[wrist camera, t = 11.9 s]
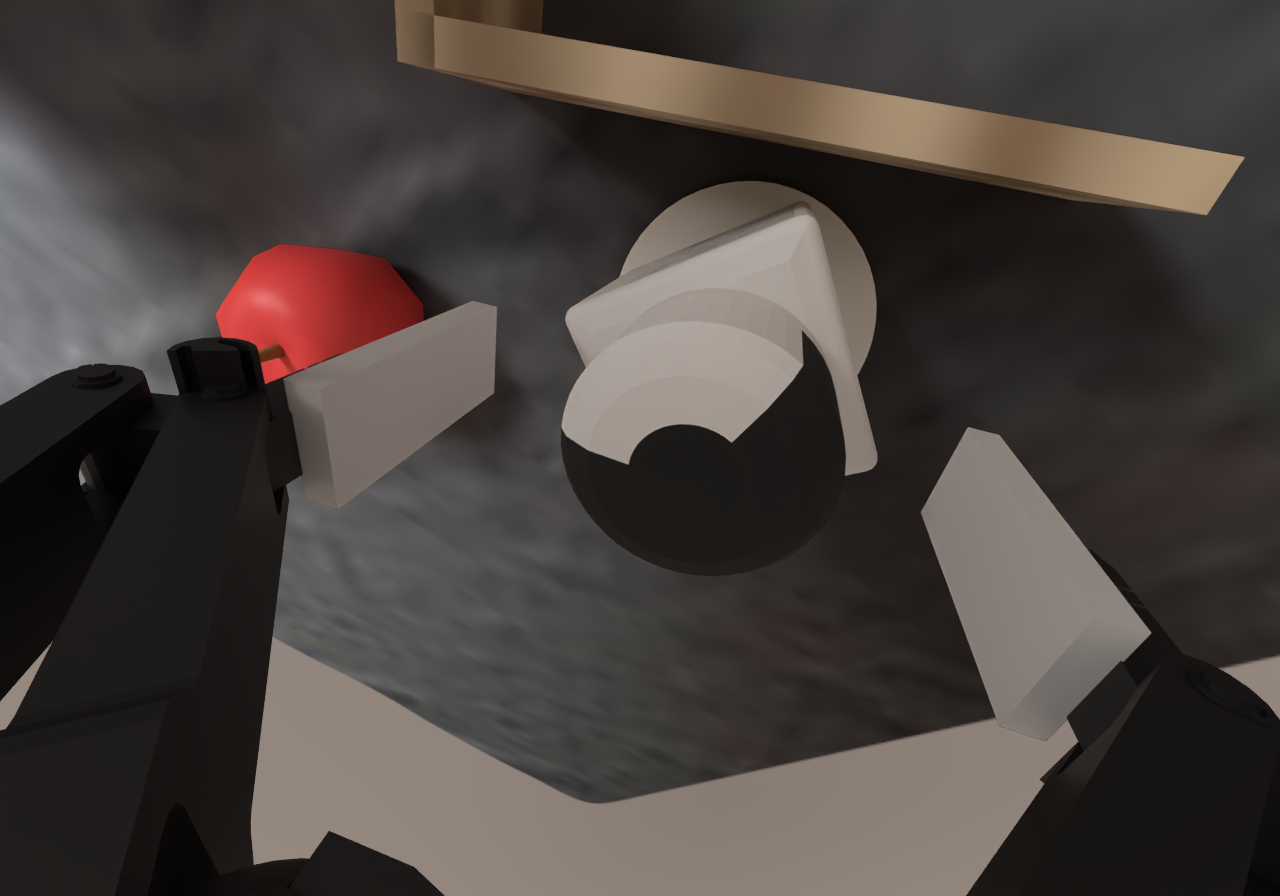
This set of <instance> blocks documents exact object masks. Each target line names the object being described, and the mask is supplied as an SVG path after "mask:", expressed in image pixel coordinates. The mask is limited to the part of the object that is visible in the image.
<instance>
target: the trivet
mask: <svg viewBox="0 0 1280 896" xmlns="http://www.w3.org/2000/svg"><path fill="white" fill-rule="evenodd" d="M799 201H805V202H807V203H809V205H810V207H811V208H812V211H813V213H814V215H815V217H816V220H817V222H818V224H819V227H820V231H821V235H822V239H823V243H824V247H825V251H826V255H827V259H828V263H829V267H830V271H831V274H832V278H833V282H834V286H835V290H836V294H837V298H838V302H839V306H840V310H841V314H842V318H843V322H844V325H845V329H846V333H847V337H848V341H849V345H850V349H851V353H852V357H853V361H854V365H855V369H856V373H857V375H858V374H859V372H860V370H861V368H862V366H863V364H864V362H865V360H866V358H867V355H868V352H869V349H870V346H871V343H872V340H873V335H874V329H875V324H876V307H877V303H876V292H875V285H874V280H873V276H872V272H871V268H870V266H869V263H868V261H867V258H866V256H865V254H864V251H863V249H862V248H861V246H860V244H859V243H858V241H857V239H856V238H855V236H854V234H853V233H852V232H851V231H850V230H849V228H848V227H847V226H846V225H845V224H844V222H843V221H842V220H841V219H840V218H839V217H838V216H837V215H836V214H834V213H833V212H832V211H831V210H830V209H829V208H828V207H827V206H825V205H824V204H822V203H821V202H819V201H817V200H816V199H814V198H813V197H811V196H809V195H807V194H805V193H803V192H800V191H798V190H796V189H794V188H790V187H787V186H783V185H780V184H776V183H769V182H761V181H737V182H730V183H724V184H718V185H715V186H712V187H709V188H705V189H702V190H699V191H697V192H695V193H693V194H691V195H689V196H687V197H684V198H682V199H681V200H679V201H678V202H676V203H675V204H673V205H672V206H670V207H669V208H667V209H666V210H665V211H664V212H662V213H661V214H660V215H659V216H658V217H657V218H656V219H654V220H653V221H652V223H651V224H650V225H649V226H648V227H647V228H646V229H645V230H644V232H643V233H642V234H641V235H640V237H639V238H638V240H637V241H636V243H635V244H634V246H633V247H632V249H631V251H630V253H629V255H628V257H627V259H626V261H625V263H624V265H623V268H622V271H621V274H620V277H621V276H623V275H624V274H626V273H627V272H629V271H631V270H632V269H635V268H637V267H640V266H642V265H645V264H647V263H649V262H652V261H654V260H657V259H659V258H662V257H664V256H666V255H669V254H671V253H674V252H676V251H679V250H681V249H684V248H686V247H688V246H691V245H693V244H696V243H698V242H701V241H703V240H705V239H708V238H710V237H713V236H715V235H718V234H720V233H722V232H725V231H727V230H730V229H732V228H735V227H737V226H740V225H742V224H744V223H747V222H749V221H752V220H754V219H757V218H759V217H761V216H764V215H766V214H769V213H771V212H774V211H776V210H779V209H781V208H783V207H786V206H788V205H791V204H793V203H796V202H799Z"/></svg>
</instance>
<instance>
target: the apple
mask: <svg viewBox="0 0 1280 896" xmlns="http://www.w3.org/2000/svg"><path fill="white" fill-rule="evenodd" d="M216 317H217V321H218V324H219V328H220V331H221V335H222V338H236V339H241V340H245V341H249V342H251V343H253V344H255V345H257V348H258V352H259V357H260V361H261V366H262V371H263V376H264V381H265V384H266V383H269V382H271V381H274V380H276V379H279V378H281V377H283V376H286V375H288V374H291V373H293V372H296V371H298V370H301V369H303V368H305V369H307V367H308V366H311V365H313V364H316V363H318V362H319V363H322V361H323V360H325V359H328V358H330V357H333V356H335V355H338V354H341V353H346V352H349V351H352V350H354V349H356V348H359V347H361V346H364V345H366V344H369V343H371V342H374V341H376V340H378V339H381V338H383V337H386V336H388V335H391V334H393V333H396V332H398V331H400V330H403V329H405V328H408V327H410V326H413V325H415V324H418V323H420V322H422V321H424V313H423V303H422V302H421V301H420V300H419V299H418V297H417V296H416V295H415V294H414V293H413V291H412V290H411V289H410V288H409V287H408V285H407V284H406V283H405V282H404V281H403V279H402V278H401V277H400V276H399V275H398V273H397V272H396V271H395V270H394V269H393V267H392V266H391V265H390V264H389V263H388V261H387V260H386V259H385V258H382V257H377V256H372V255H366V254H361V253H356V252H351V251H345V250H340V249H332V248H320V247H309V246H297V245H286V244H280V245H278V246H276V247H273V248H271V249H269V250H267V251H264V252H262V253H260V254H258V255H256V256H254V257H253V258H252V260H251V261H250V263H249V264H248V266H247V267H246V268H245V270H244V271H243V273H242V274H241V276H240V277H239V279H238V280H237V282H236V283H235V285H234V286H233V287H232V289H231V290H230V292H229V293H228V295H227V296H226V298H225V300H224V301H223V303H222V305H221V306H220V308H219V310H218V311H217V313H216Z"/></svg>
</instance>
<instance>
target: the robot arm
mask: <svg viewBox="0 0 1280 896" xmlns="http://www.w3.org/2000/svg"><path fill="white" fill-rule="evenodd" d="M496 322H497V307H495V306H491V305H487V304H483V303H479V302H476V301H471V302H469V303H466V304H464V305H462V306H459V307H457V308H454V309H452V310H449V311H447V312H444V313H442V314H440V315H437V316H435V317H432V318H430V319H427V320H425V321H422V322H420V323H418V324H415V325H413V326H410V327H408V328H405V329H403V330H400V331H398V332H396V333H393V334H391V335H388V336H386V337H383V338H381V339H378V340H376V341H374V342H371V343H369V344H366V345H364V346H361V347H359V348H356V349H354V350H352V351H349V352H346V353H341V354H338V355H335V356H333V357H330V358H328V359H325V360H323V361H322V363H319V362H318V363H316V364H313V365H311V366H308V367H307V369H305V368H303V369H301V370H298V371H296V372H293V373H291V374H288V375H286V376H283V377H281V378H279V379H276V380H274V381H271V382H269V383H266V384H265V381H264V376H263V371H262V366H261V361H260V357H259V352H258V348H257V345H255V344H253V343H251V342H249V341H245V340H241V339H236V338H222V337H217V338H201V339H195V340H190V341H185V342H182V343H179V344H176V345H174V346H172V347H171V348H170V349H168V350H167V354H168V357H169V360H170V364H171V367H172V370H173V374H174V377H175V380H176V384H177V387H178V390H179V395H178V396H175V395H165V394H156V393H151V392H150V389H149V386H148V383H147V380H146V377H145V375H144V373H143V371H142V370H139V369H137V368H134V367H130V366H123V365H107V364H94V365H91V364H90V365H83V366H80V367H78V368H76V369H72V370H67V371H64V372H61V373H59V374H56V375H54V376H52V377H50V378H48V379H46V380H44V381H43V382H41V383H39V384H37V385H36V386H34V387H32V388H30V389H29V390H27V391H25V392H23V393H22V394H20V395H18V396H16V397H15V398H13V399H11V400H9V401H8V402H6V403H4V404H2V405H1V406H0V701H1V700H2V699H3V697H4V696H5V695H6V694H7V693H8V692H9V691H10V689H11V688H12V687H13V686H14V685H15V684H16V683H17V681H18V680H19V679H20V678H21V677H22V676H23V675H24V673H25V672H26V671H27V670H28V669H29V668H30V666H31V665H32V664H33V663H34V662H35V661H36V659H38V657H39V656H40V655H41V654H42V653H43V652H44V650H45V649H46V648H47V647H48V646H49V645H50V644H51V642H52V641H53V642H52V644H51V646H50V648H49V650H48V652H47V654H46V656H45V658H44V660H43V661H42V663H41V665H40V667H39V669H38V671H37V673H36V675H35V677H34V679H33V681H32V683H31V685H30V687H29V689H28V691H27V693H26V695H25V697H24V699H23V701H22V703H21V705H20V707H19V709H18V711H17V713H16V715H15V716H14V718H13V719H12V721H11V722H10V724H9V725H8V727H7V728H6V729H4V730H0V896H444V895H443V894H442V893H441V892H440V891H439V890H438V889H437V888H436V887H435V886H434V885H433V884H432V883H431V882H430V881H428V880H427V879H426V878H425V877H424V876H423V875H422V874H421V873H420V872H418V870H417V869H416V868H415V867H413V866H410V865H408V864H406V863H403V862H401V861H399V860H396V859H394V858H391V857H389V856H387V855H385V854H382V853H380V852H377V851H375V850H373V849H370V848H368V847H366V846H363V845H361V844H359V843H356V842H354V841H352V840H349V839H347V838H345V837H342V836H340V835H337V834H335V833H333V832H330V831H329V832H328V833H327V835H326V836H325V837H324V839H323V840H322V842H321V843H320V844H319V846H318V847H317V849H316V850H315V852H314V853H313V854H312V856H311V858H310V859H305V858H299V859H287V860H276V861H271V862H266V863H261V864H256V865H253V851H252V840H251V809H252V800H253V792H254V784H255V775H256V767H257V759H258V751H259V743H260V734H261V726H262V718H263V710H264V701H265V693H266V685H267V676H268V668H269V660H270V652H271V644H272V635H273V627H274V619H275V611H276V602H277V594H278V586H279V578H280V569H281V561H282V553H283V545H284V536H285V528H286V520H287V511H288V503H289V497H288V492H287V487H286V484H288V483H290V482H291V481H293V480H294V479H296V478H298V477H299V476H302V481H303V487H304V492H305V497H306V499H308V500H311V501H314V502H317V503H320V504H323V505H326V506H329V507H332V508H335V509H339V508H340V507H342V506H343V505H344V504H346V503H347V502H348V501H350V500H351V499H352V498H354V497H355V496H356V495H358V494H359V493H360V492H362V491H363V490H364V489H366V488H367V487H368V486H370V485H371V484H373V483H374V482H375V481H377V480H378V479H379V478H381V477H382V476H383V475H385V474H386V473H387V472H389V471H390V470H391V469H393V468H394V467H395V466H397V465H398V464H399V463H401V462H402V461H403V460H405V459H406V458H407V457H409V456H410V455H411V454H413V453H414V452H416V451H417V450H418V449H420V448H421V447H422V446H424V445H425V444H426V443H428V442H429V441H430V440H432V439H433V438H434V437H436V436H437V435H438V434H440V433H441V432H442V431H444V430H445V429H446V428H448V427H449V426H450V425H452V424H453V423H454V422H456V421H457V420H458V419H460V418H461V417H463V416H464V415H465V414H467V413H468V412H469V411H471V410H472V409H473V408H475V407H476V406H477V405H479V404H480V403H481V402H483V401H484V400H485V399H487V398H488V397H489V396H491V395H492V394H493V393H494V382H495V352H496ZM80 469H81V472H82V474H83V476H84V478H85V481H86V482H85V483H84V484H83V485H82V486H81V485H80V480H79V470H80ZM921 514H922V517H923V520H924V523H925V525H926V528H927V531H928V533H929V536H930V539H931V542H932V544H933V547H934V550H935V552H936V555H937V558H938V561H939V563H940V566H941V569H942V572H943V574H944V577H945V580H946V582H947V585H948V588H949V591H950V593H951V596H952V599H953V602H954V604H955V607H956V610H957V612H958V615H959V618H960V621H961V623H962V626H963V629H964V632H965V634H966V637H967V640H968V642H969V645H970V648H971V651H972V653H973V656H974V659H975V661H976V664H977V667H978V670H979V672H980V675H981V678H982V681H983V683H984V686H985V689H986V691H987V694H988V697H989V700H990V702H991V705H992V708H993V711H994V713H995V716H996V719H997V721H998V724H999V726H1000V727H1003V728H1007V729H1010V730H1013V731H1016V732H1019V733H1022V734H1025V735H1028V736H1031V737H1034V738H1037V739H1040V740H1043V741H1047V740H1048V739H1049V738H1050V737H1051V736H1052V735H1053V734H1054V733H1055V732H1056V731H1057V730H1058V729H1059V728H1060V727H1061V725H1062V724H1063V723H1064V722H1065V721H1066V720H1067V719H1068V721H1069V723H1070V725H1071V727H1072V729H1073V731H1074V733H1075V735H1076V737H1077V740H1078V743H1077V744H1076V745H1074V746H1073V747H1072V748H1071V749H1070V751H1068V752H1067V753H1066V754H1065V755H1064V756H1063V757H1062V758H1061V759H1060V760H1059V761H1058V762H1057V763H1056V764H1055V765H1054V766H1053V767H1052V768H1051V769H1050V770H1049V771H1048V772H1047V773H1046V774H1045V775H1044V776H1043V777H1042V778H1041V779H1040V780H1041V781H1042V782H1043V783H1044V785H1043V787H1042V788H1041V790H1040V791H1039V793H1038V794H1037V795H1036V797H1035V798H1034V800H1033V801H1032V803H1031V804H1030V806H1029V807H1028V808H1027V810H1026V811H1025V812H1024V814H1023V815H1022V817H1021V818H1020V820H1019V821H1018V823H1017V824H1016V825H1015V827H1014V828H1013V830H1012V831H1011V832H1010V834H1009V835H1008V837H1007V838H1006V840H1005V841H1004V842H1003V844H1002V845H1001V847H1000V848H999V850H998V851H997V853H996V854H995V855H994V857H993V858H992V860H991V861H990V862H989V864H988V865H987V867H986V868H985V870H984V871H983V873H982V874H981V875H980V877H979V878H978V880H977V881H976V882H975V884H974V885H973V887H972V888H971V890H970V891H969V892H968V894H967V895H966V896H1280V720H1279V718H1278V717H1277V716H1276V714H1275V713H1274V712H1273V711H1272V709H1271V708H1270V707H1269V705H1268V704H1267V703H1266V702H1264V701H1263V700H1262V699H1261V698H1260V697H1259V696H1258V695H1257V694H1255V693H1254V692H1253V691H1252V690H1251V689H1250V688H1248V687H1247V686H1245V685H1244V684H1242V683H1241V682H1239V681H1238V680H1237V679H1235V678H1234V677H1232V676H1231V675H1229V674H1228V673H1226V672H1224V671H1222V670H1220V669H1218V668H1216V667H1214V666H1212V665H1210V664H1209V663H1207V662H1204V661H1201V660H1198V659H1195V658H1193V657H1190V656H1187V655H1183V654H1182V652H1181V651H1180V650H1179V649H1178V647H1177V646H1176V645H1175V644H1174V642H1173V641H1172V640H1171V639H1170V637H1169V636H1168V635H1167V634H1166V632H1165V631H1164V630H1163V629H1162V627H1161V626H1160V625H1159V624H1158V622H1157V621H1156V620H1155V619H1154V617H1153V616H1152V615H1151V614H1150V612H1149V611H1148V610H1147V609H1144V608H1143V606H1144V605H1143V604H1142V602H1141V601H1140V600H1139V599H1138V597H1137V596H1136V595H1135V594H1134V593H1132V592H1130V590H1131V589H1130V587H1129V586H1128V585H1127V584H1126V582H1125V581H1124V580H1123V579H1122V577H1121V576H1120V575H1119V574H1118V572H1117V571H1116V570H1115V569H1114V568H1113V567H1111V566H1110V565H1109V564H1108V563H1106V562H1105V561H1104V560H1103V559H1101V558H1100V557H1099V556H1098V555H1097V554H1095V553H1094V552H1093V551H1092V550H1089V549H1087V548H1086V547H1085V546H1084V545H1083V543H1082V542H1081V541H1080V539H1079V538H1078V537H1077V535H1076V534H1075V533H1074V532H1073V530H1072V529H1071V528H1070V526H1069V525H1068V524H1067V522H1066V521H1065V520H1064V519H1063V517H1062V516H1061V515H1060V513H1059V512H1058V511H1057V509H1056V508H1055V507H1054V506H1053V504H1052V503H1051V502H1050V500H1049V499H1048V498H1047V496H1046V495H1045V494H1044V493H1043V491H1042V490H1041V489H1040V487H1039V486H1038V485H1037V483H1036V482H1035V481H1034V480H1033V478H1032V477H1031V476H1030V474H1029V473H1028V472H1027V470H1026V469H1025V468H1024V467H1023V465H1022V464H1021V463H1020V461H1019V460H1018V459H1017V457H1016V456H1015V455H1014V454H1013V452H1012V451H1011V450H1010V448H1009V447H1008V446H1007V444H1006V443H1005V442H1004V441H1003V439H1002V438H1001V437H1000V435H997V434H993V433H989V432H985V431H981V430H977V429H973V428H970V427H968V428H967V430H966V431H965V433H964V435H963V437H962V439H961V440H960V442H959V444H958V446H957V448H956V450H955V451H954V453H953V455H952V457H951V459H950V460H949V462H948V464H947V466H946V468H945V469H944V471H943V473H942V475H941V477H940V478H939V480H938V482H937V484H936V486H935V487H934V489H933V491H932V493H931V495H930V497H929V498H928V500H927V502H926V504H925V506H924V507H923V509H922V511H921Z"/></svg>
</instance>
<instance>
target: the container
mask: <svg viewBox="0 0 1280 896" xmlns="http://www.w3.org/2000/svg"><path fill="white" fill-rule="evenodd" d="M565 320H566V325H567V327H568V329H569V331H570V334H571V336H572V338H573V340H574V342H575V345H576V347H577V349H578V351H579V354H580V356H581V358H582V360H583V362H584V365H585V367H586V369H585V370H584V371H583V373H582V374H581V375H580V377H579V378H578V380H577V381H576V383H575V385H574V387H573V389H572V391H571V393H570V395H569V398H568V401H567V404H566V407H565V410H564V415H563V421H562V426H561V447H562V455H563V461H564V465H565V469H566V472H567V476H568V478H569V481H570V483H571V485H572V488H573V490H574V492H575V494H576V496H577V497H578V499H579V501H580V503H581V504H582V506H583V507H584V509H585V510H586V511H587V513H588V514H589V515H590V517H591V518H592V519H593V520H594V522H595V523H596V524H597V525H598V526H599V527H600V528H601V529H602V530H603V531H604V532H605V533H606V534H607V535H608V536H609V537H610V538H611V539H613V540H614V541H615V542H616V543H617V544H619V545H620V546H622V547H623V548H625V549H626V550H628V551H629V552H631V553H632V554H634V555H636V556H638V557H640V558H641V559H643V560H645V561H647V562H650V563H652V564H655V565H657V566H660V567H662V568H666V569H669V570H673V571H677V572H681V573H687V574H693V575H707V576H718V575H731V574H737V573H743V572H748V571H753V570H756V569H759V568H762V567H766V566H769V565H771V564H773V563H775V562H778V561H780V560H782V559H784V558H786V557H787V556H789V555H791V554H792V553H794V552H795V551H797V550H799V549H800V548H801V547H802V546H803V545H805V544H806V543H807V542H808V541H809V540H811V539H812V538H813V537H814V536H815V535H816V533H817V532H818V531H819V530H820V529H821V528H822V527H823V525H824V524H825V523H826V521H827V519H828V518H829V516H830V515H831V513H832V512H833V510H834V508H835V505H836V503H837V501H838V498H839V496H840V494H841V490H842V486H843V482H844V477H845V476H846V475H851V474H855V473H860V472H865V471H868V470H871V469H873V467H874V466H875V465H876V463H877V456H878V455H877V451H876V447H875V443H874V439H873V435H872V431H871V428H870V424H869V420H868V416H867V412H866V408H865V404H864V400H863V396H862V392H861V388H860V384H859V380H858V377H857V373H856V369H855V365H854V361H853V357H852V353H851V349H850V345H849V341H848V337H847V333H846V329H845V325H844V322H843V318H842V314H841V310H840V306H839V302H838V298H837V294H836V290H835V286H834V282H833V278H832V274H831V271H830V267H829V263H828V259H827V255H826V251H825V247H824V243H823V239H822V235H821V231H820V227H819V224H818V222H817V220H816V217H815V215H814V213H813V211H812V208H811V207H810V205H809V203H807V202H805V201H799V202H796V203H793V204H791V205H788V206H786V207H783V208H781V209H779V210H776V211H774V212H771V213H769V214H766V215H764V216H761V217H759V218H757V219H754V220H752V221H749V222H747V223H744V224H742V225H740V226H737V227H735V228H732V229H730V230H727V231H725V232H722V233H720V234H718V235H715V236H713V237H710V238H708V239H705V240H703V241H701V242H698V243H696V244H693V245H691V246H688V247H686V248H684V249H681V250H679V251H676V252H674V253H671V254H669V255H666V256H664V257H662V258H659V259H657V260H654V261H652V262H649V263H647V264H645V265H642V266H640V267H637V268H635V269H632V270H631V271H629V272H627V273H626V274H624V275H623V276H621V277H619V278H618V279H616V280H614V281H613V282H611V283H610V284H608V285H606V286H605V287H603V288H601V289H600V290H598V291H597V292H595V293H593V294H592V295H590V296H589V297H587V298H585V299H584V300H582V301H580V302H579V303H577V304H576V305H574V306H572V307H571V308H570V309H569V310H568V311H567V314H566V317H565Z"/></svg>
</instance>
